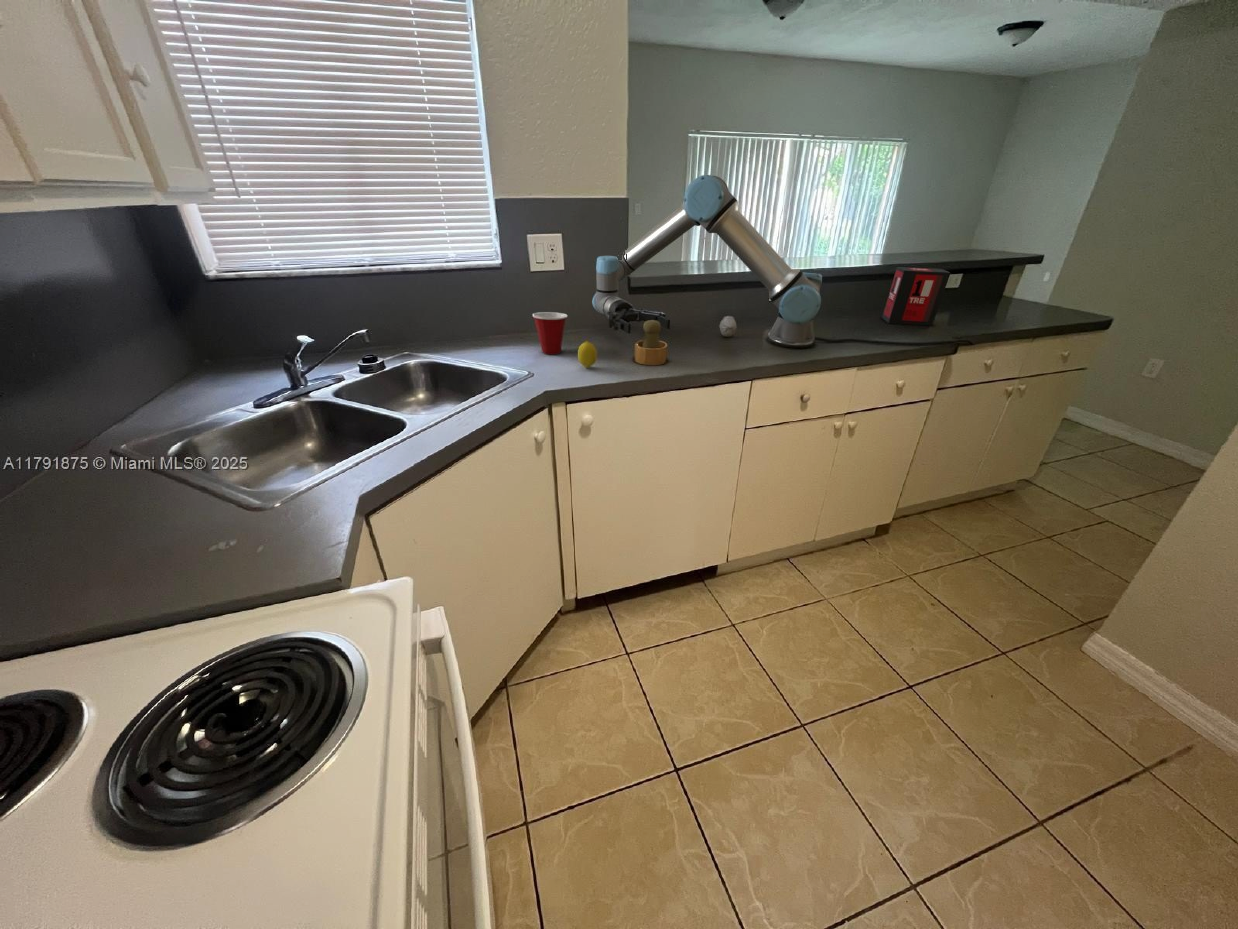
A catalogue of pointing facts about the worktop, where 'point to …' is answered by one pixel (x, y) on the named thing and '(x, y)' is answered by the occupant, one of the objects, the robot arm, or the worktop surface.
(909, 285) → the cleaning product box
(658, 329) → the wooden peg doll
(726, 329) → the crumpled white ball
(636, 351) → the wooden cup
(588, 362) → the lemon
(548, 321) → the plastic cup
